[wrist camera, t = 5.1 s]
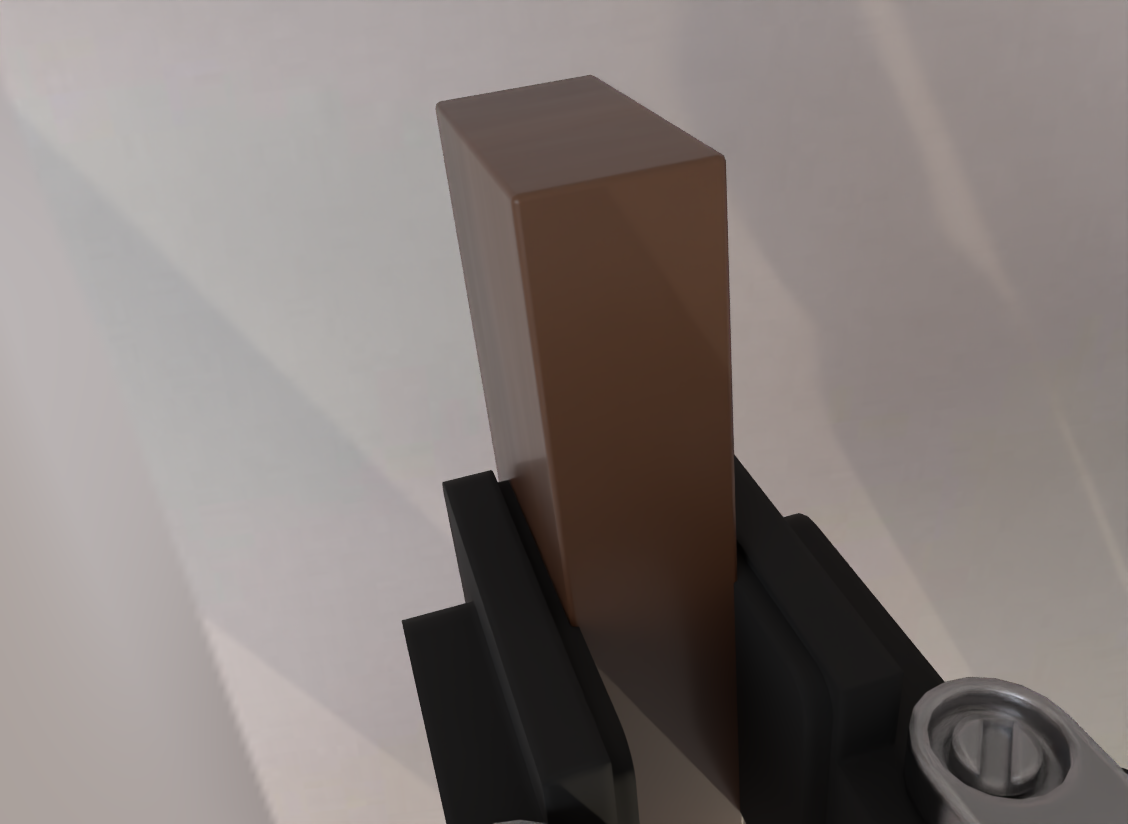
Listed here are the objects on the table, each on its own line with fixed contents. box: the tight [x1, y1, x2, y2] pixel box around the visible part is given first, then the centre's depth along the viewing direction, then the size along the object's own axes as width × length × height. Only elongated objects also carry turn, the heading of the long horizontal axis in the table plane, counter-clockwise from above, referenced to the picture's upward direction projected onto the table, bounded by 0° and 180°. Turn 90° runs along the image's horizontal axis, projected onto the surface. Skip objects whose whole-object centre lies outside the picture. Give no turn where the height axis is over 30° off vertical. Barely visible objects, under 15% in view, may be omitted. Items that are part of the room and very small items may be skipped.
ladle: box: [436, 75, 746, 824], centre depth 11 cm, size 11×4×3 cm, turn 6°
